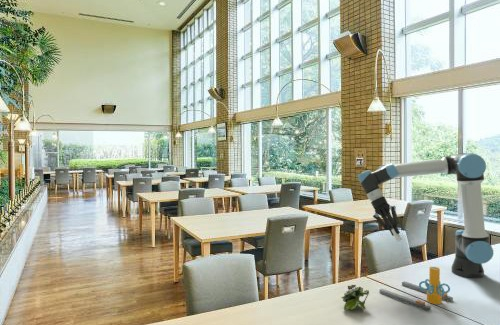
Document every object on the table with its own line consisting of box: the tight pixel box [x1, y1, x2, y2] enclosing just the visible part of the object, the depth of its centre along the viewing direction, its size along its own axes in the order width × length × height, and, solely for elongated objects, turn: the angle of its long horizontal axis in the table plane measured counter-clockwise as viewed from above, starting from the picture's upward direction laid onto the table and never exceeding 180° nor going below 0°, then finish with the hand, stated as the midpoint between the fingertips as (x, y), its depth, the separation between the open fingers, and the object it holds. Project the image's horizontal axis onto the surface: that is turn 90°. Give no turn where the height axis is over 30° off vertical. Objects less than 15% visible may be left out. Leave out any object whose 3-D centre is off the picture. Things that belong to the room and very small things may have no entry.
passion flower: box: [341, 284, 370, 311], centre depth 157 cm, size 11×11×12 cm
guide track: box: [379, 280, 454, 312], centre depth 168 cm, size 24×19×2 cm
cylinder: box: [418, 266, 451, 305], centre depth 162 cm, size 12×10×15 cm
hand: (399, 240), depth 188 cm, fingers closed
